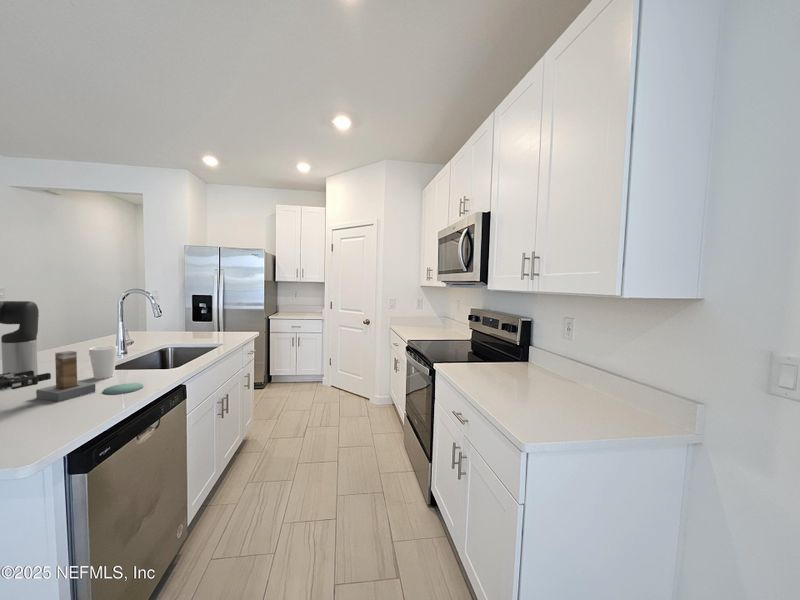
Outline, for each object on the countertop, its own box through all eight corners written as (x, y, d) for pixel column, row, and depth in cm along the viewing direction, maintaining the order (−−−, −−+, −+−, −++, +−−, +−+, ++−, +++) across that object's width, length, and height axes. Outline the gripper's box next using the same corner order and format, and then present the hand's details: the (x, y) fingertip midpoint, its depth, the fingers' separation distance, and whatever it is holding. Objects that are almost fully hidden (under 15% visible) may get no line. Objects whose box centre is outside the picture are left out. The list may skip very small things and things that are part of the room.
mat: (103, 388, 129) (103, 386, 129) (142, 382, 137) (142, 381, 137) (103, 396, 120) (103, 395, 120) (144, 390, 128) (144, 388, 128)
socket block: (36, 398, 117) (36, 389, 117) (74, 388, 128) (74, 380, 127) (58, 401, 114) (58, 393, 114) (95, 391, 125) (95, 383, 125)
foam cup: (106, 373, 148) (105, 345, 148) (123, 374, 147) (123, 346, 146) (83, 379, 139) (82, 349, 138) (101, 380, 138) (101, 350, 137)
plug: (56, 395, 119) (55, 352, 118) (69, 392, 123) (68, 350, 122) (64, 397, 118) (63, 353, 117) (77, 393, 122) (76, 351, 121)
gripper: (-15, 379, 96) (55, 365, 112) (-45, 374, 99) (27, 362, 115) (-14, 404, 96) (56, 387, 112) (-44, 398, 100) (28, 382, 116)
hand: (41, 374), depth 114 cm, fingers open, 8 cm apart
